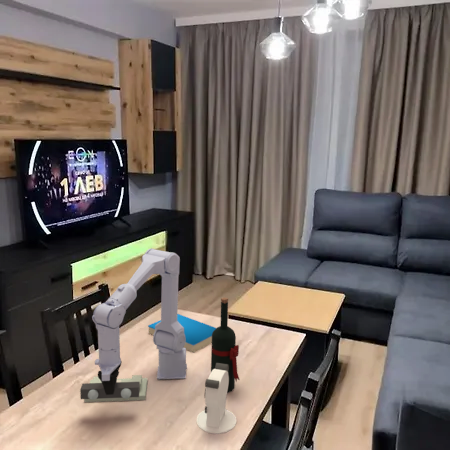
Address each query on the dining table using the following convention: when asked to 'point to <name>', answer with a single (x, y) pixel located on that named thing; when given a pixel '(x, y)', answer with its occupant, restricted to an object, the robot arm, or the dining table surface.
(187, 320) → the book
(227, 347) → the wine bottle
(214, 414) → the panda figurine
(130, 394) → the bar
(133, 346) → the dining table surface
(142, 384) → the stand
